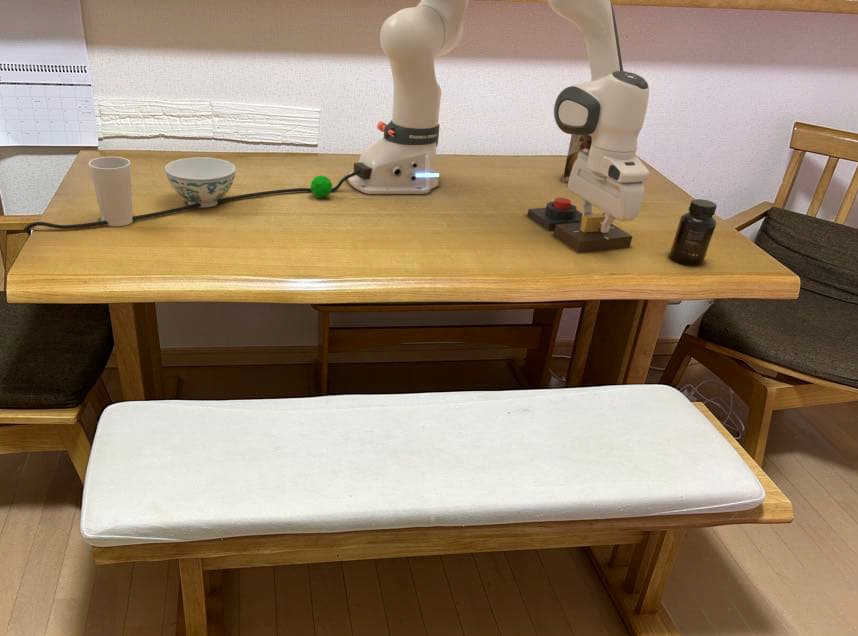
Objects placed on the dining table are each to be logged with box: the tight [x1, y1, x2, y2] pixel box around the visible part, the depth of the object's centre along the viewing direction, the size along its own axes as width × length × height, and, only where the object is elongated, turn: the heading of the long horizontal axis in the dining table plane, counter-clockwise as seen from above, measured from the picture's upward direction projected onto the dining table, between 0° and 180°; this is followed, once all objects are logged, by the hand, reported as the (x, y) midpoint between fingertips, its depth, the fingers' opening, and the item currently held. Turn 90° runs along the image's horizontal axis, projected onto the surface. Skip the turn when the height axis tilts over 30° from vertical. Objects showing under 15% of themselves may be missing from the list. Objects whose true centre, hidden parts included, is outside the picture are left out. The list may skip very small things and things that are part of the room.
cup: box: [88, 156, 134, 227], centre depth 153 cm, size 8×8×12 cm
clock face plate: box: [553, 221, 633, 254], centre depth 160 cm, size 13×10×3 cm
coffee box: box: [561, 134, 592, 183], centre depth 190 cm, size 9×6×16 cm
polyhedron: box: [310, 175, 333, 199], centre depth 173 cm, size 5×5×5 cm
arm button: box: [553, 197, 572, 210], centre depth 168 cm, size 4×4×2 cm
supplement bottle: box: [669, 198, 717, 267], centre depth 152 cm, size 7×7×12 cm
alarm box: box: [526, 201, 583, 231], centre depth 169 cm, size 11×9×4 cm
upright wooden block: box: [580, 212, 606, 233], centre depth 158 cm, size 6×2×3 cm, turn 111°
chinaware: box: [164, 156, 237, 209], centre depth 165 cm, size 15×15×8 cm
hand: (594, 226), depth 159 cm, fingers open, 5 cm apart
